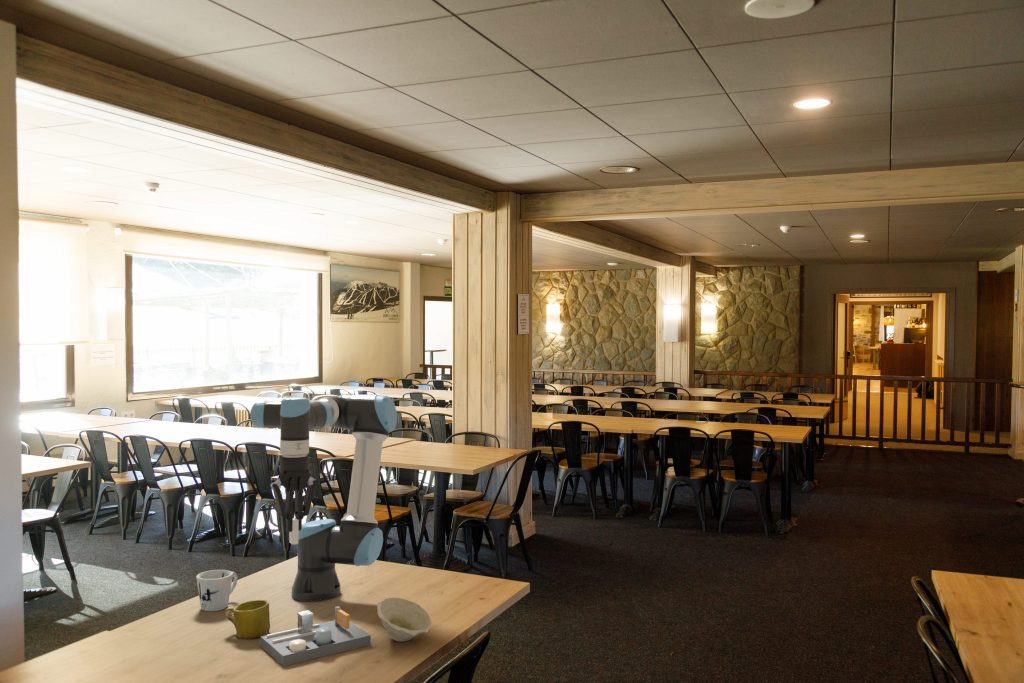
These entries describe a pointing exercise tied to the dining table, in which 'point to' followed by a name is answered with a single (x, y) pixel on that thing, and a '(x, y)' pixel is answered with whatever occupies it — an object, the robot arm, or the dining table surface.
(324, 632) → the button bluegrey
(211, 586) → the mug
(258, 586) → the dining table surface
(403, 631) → the bowl
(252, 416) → the robot arm
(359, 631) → the panel
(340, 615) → the paddle
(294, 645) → the button ivory
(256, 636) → the mug
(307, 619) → the slider knob
